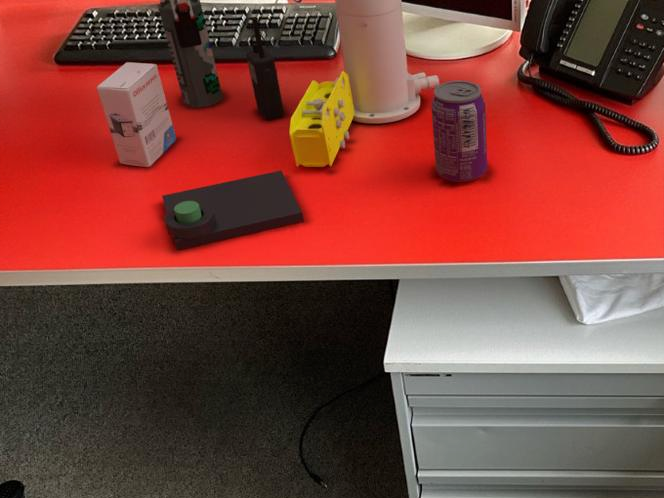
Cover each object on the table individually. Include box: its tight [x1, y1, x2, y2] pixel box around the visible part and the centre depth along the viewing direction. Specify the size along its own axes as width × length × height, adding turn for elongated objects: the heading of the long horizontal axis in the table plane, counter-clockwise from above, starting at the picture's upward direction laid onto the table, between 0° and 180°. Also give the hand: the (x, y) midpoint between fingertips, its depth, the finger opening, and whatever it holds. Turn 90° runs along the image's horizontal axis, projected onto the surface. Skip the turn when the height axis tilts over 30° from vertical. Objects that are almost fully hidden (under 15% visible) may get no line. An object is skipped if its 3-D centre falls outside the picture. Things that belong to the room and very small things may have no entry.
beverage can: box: [430, 80, 488, 183], centre depth 119 cm, size 7×7×12 cm
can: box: [156, 0, 224, 109], centre depth 138 cm, size 6×6×15 cm
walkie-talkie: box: [245, 16, 285, 121], centre depth 134 cm, size 5×3×15 cm
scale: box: [161, 169, 305, 251], centre depth 116 cm, size 16×12×3 cm
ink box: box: [96, 61, 177, 168], centre depth 126 cm, size 9×5×12 cm, turn 168°
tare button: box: [174, 201, 202, 223], centre depth 111 cm, size 3×3×2 cm
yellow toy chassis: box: [288, 70, 355, 168], centre depth 128 cm, size 16×6×8 cm, turn 175°
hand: (187, 36), depth 136 cm, fingers open, 6 cm apart
